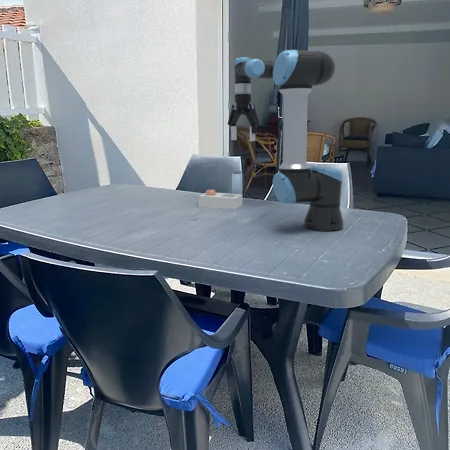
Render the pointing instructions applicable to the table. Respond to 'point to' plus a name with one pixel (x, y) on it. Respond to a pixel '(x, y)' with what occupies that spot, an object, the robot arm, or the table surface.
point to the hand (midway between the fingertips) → (242, 140)
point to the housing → (221, 200)
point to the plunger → (210, 192)
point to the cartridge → (237, 182)
